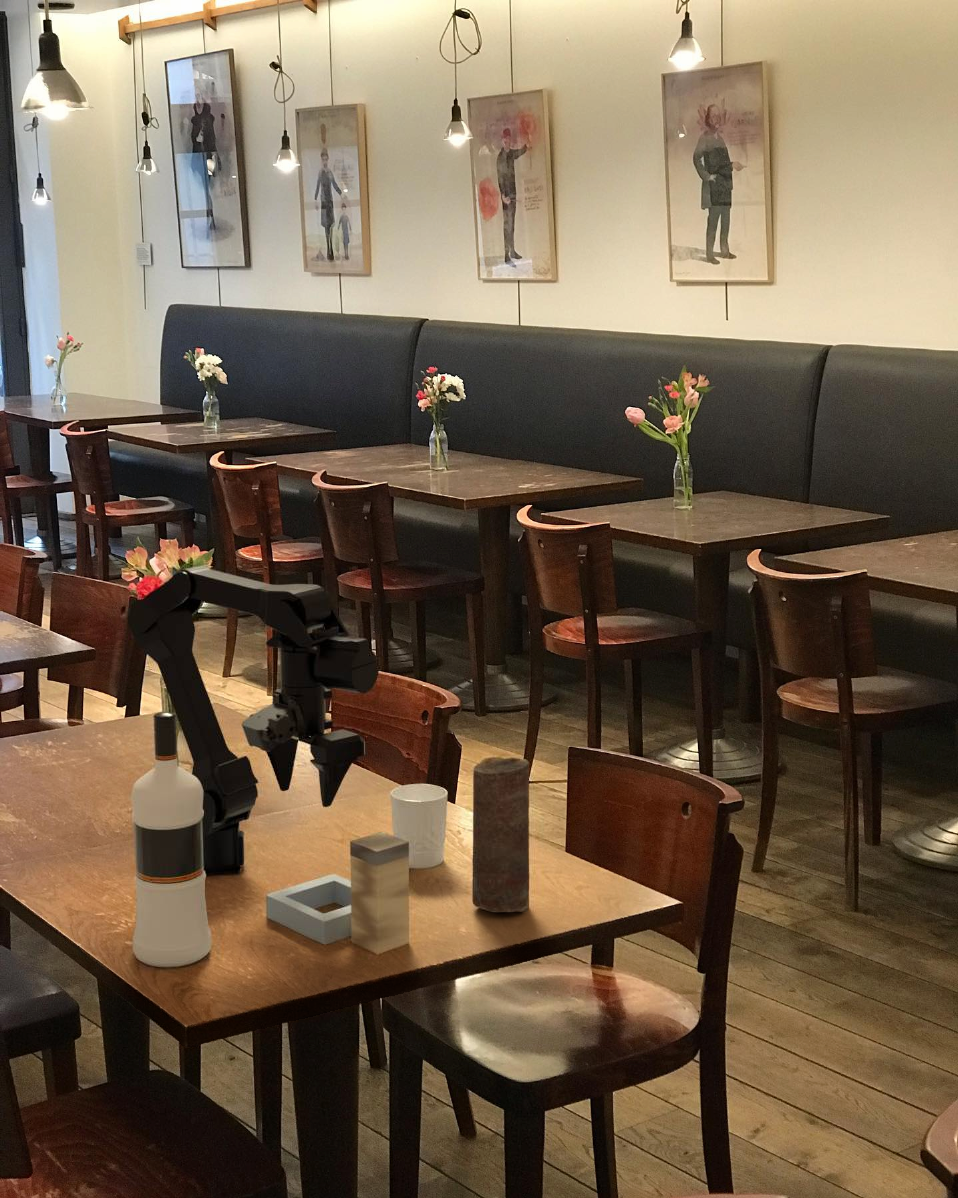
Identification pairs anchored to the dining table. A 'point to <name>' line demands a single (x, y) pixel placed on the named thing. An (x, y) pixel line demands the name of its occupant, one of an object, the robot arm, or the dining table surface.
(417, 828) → the white cup
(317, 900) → the frame
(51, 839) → the dining table surface
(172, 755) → the vodka
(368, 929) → the wooden square peg
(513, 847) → the brown textured cylinder
